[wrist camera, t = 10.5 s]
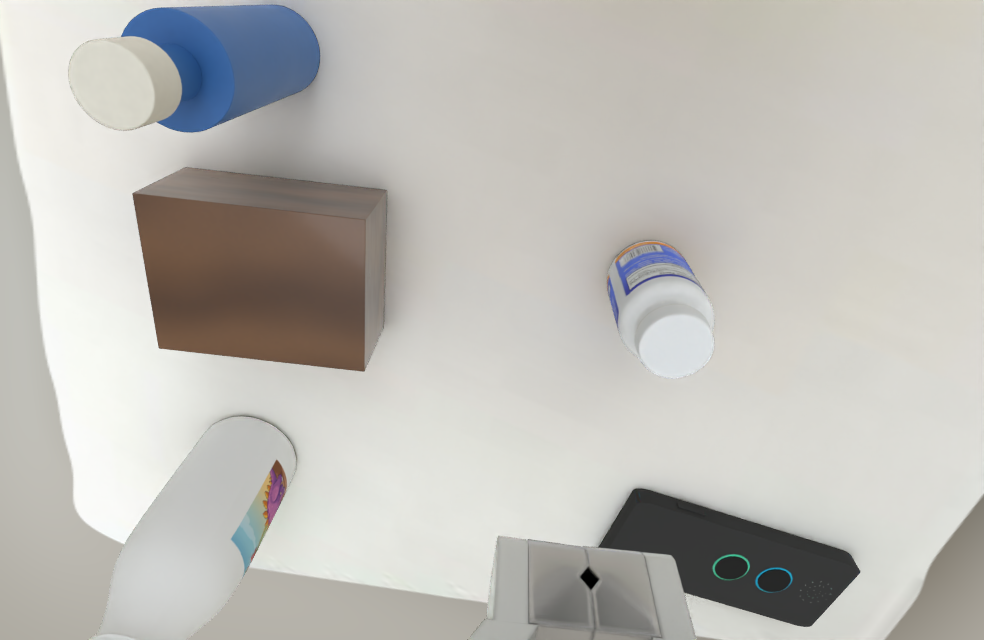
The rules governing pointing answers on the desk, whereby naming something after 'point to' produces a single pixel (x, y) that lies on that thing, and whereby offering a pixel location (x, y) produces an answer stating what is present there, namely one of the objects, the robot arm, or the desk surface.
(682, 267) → the pill bottle
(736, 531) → the smart home device
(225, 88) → the bottle
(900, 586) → the desk surface
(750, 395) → the desk surface
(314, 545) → the desk surface
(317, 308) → the wooden box
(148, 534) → the milk bottle
